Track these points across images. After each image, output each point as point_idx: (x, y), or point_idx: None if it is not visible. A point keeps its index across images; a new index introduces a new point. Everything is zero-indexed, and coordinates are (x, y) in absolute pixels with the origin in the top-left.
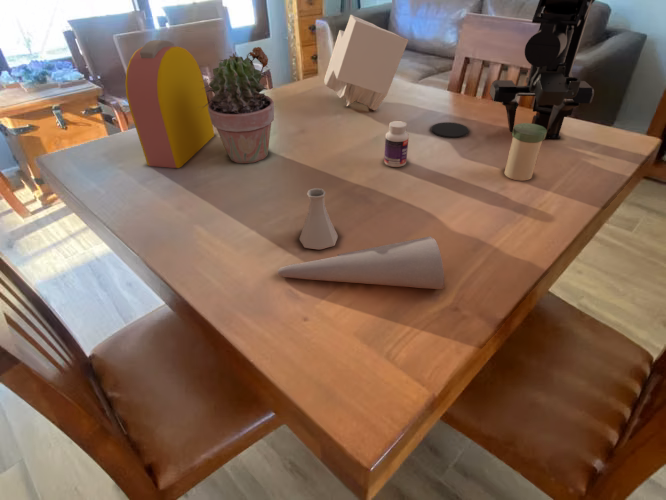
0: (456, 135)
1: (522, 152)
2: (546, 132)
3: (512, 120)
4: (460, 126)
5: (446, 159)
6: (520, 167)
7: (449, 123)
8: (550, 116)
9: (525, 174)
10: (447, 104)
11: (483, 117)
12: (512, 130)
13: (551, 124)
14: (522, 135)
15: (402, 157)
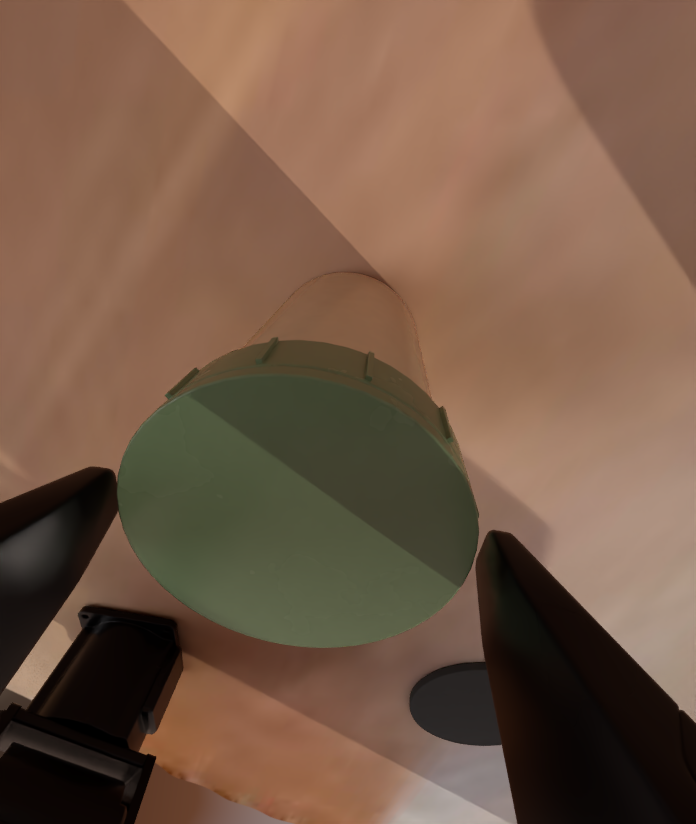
0: (481, 673)
1: (384, 336)
2: (128, 449)
3: (602, 665)
4: (431, 718)
5: (634, 521)
6: (373, 297)
7: (462, 738)
8: (7, 676)
9: (334, 279)
10: (402, 815)
11: (317, 748)
12: (498, 541)
13: (26, 533)
14: (434, 424)
15: None
